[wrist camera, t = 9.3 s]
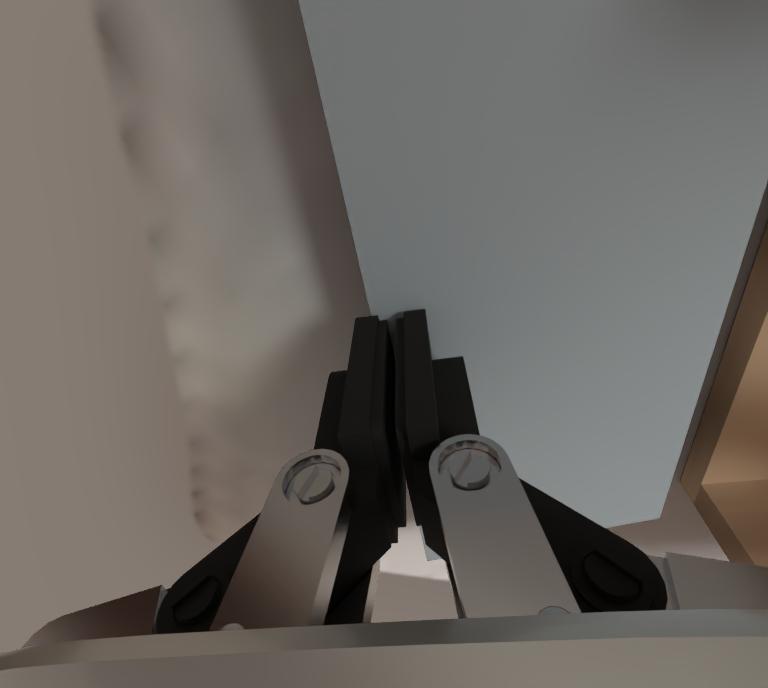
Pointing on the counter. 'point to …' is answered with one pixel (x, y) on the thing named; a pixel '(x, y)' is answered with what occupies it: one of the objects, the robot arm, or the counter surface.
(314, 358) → the counter surface
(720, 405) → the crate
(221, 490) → the counter surface
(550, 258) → the panel
